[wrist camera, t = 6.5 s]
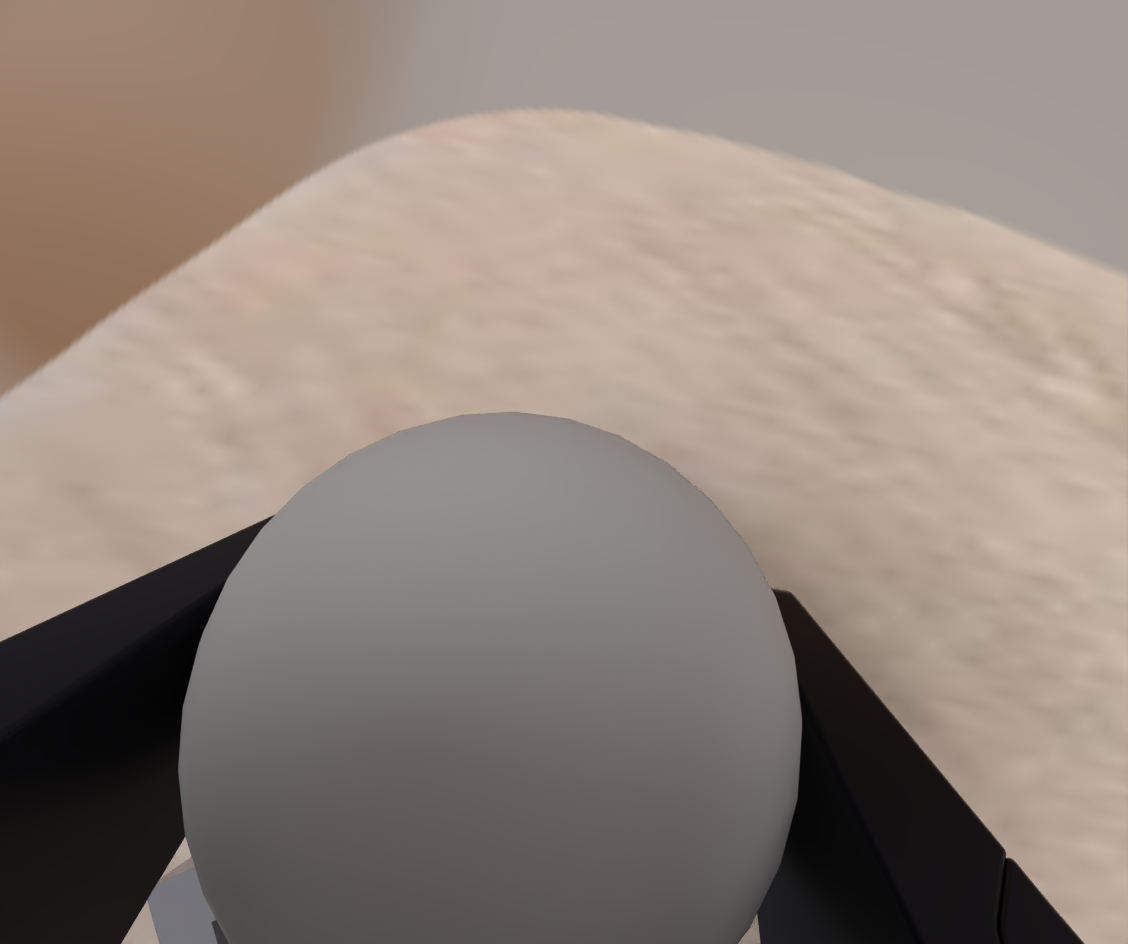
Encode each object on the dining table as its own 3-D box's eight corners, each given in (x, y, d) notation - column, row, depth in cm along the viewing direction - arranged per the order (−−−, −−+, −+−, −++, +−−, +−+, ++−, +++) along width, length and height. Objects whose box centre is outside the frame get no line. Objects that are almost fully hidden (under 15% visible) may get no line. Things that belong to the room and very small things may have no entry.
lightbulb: (724, 676, 14) (1207, 997, 3) (505, 816, 13) (175, 1749, 3) (592, 464, 15) (603, 154, 4) (385, 588, 15) (-187, 594, 4)
